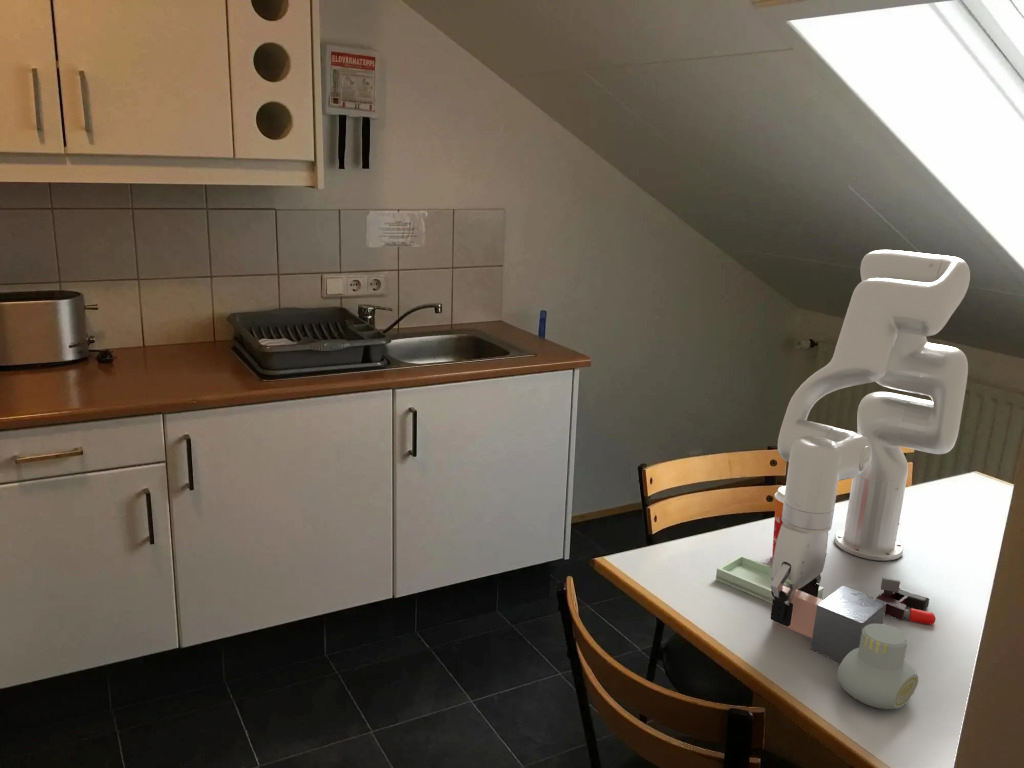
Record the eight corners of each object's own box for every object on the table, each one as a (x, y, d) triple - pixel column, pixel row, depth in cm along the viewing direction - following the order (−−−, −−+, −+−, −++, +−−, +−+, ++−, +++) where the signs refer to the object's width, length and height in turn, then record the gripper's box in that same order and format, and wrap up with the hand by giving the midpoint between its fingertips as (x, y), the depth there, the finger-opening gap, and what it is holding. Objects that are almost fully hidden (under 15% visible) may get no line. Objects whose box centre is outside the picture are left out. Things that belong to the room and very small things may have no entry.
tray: (739, 565, 157) (740, 554, 157) (822, 598, 146) (823, 587, 146) (715, 579, 151) (717, 568, 151) (800, 615, 141) (801, 603, 140)
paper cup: (776, 547, 165) (784, 481, 161) (814, 560, 160) (824, 492, 157) (759, 560, 159) (768, 492, 155) (799, 574, 155) (809, 504, 151)
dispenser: (832, 627, 137) (839, 584, 135) (878, 646, 132) (886, 602, 130) (807, 648, 131) (814, 603, 129) (854, 669, 126) (862, 623, 124)
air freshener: (865, 668, 127) (875, 609, 124) (920, 695, 121) (932, 633, 118) (827, 695, 120) (837, 633, 117) (884, 725, 114) (895, 661, 111)
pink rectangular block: (780, 616, 140) (785, 584, 139) (844, 644, 133) (850, 611, 131) (773, 622, 138) (778, 589, 137) (838, 650, 131) (843, 616, 129)
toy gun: (858, 617, 141) (863, 591, 140) (888, 594, 150) (893, 569, 148) (917, 642, 135) (922, 615, 133) (945, 616, 143) (950, 591, 142)
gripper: (810, 493, 141) (796, 586, 146) (758, 522, 129) (745, 622, 134) (854, 507, 136) (838, 603, 141) (804, 538, 124) (789, 642, 129)
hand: (793, 612), depth 137 cm, fingers open, 8 cm apart
